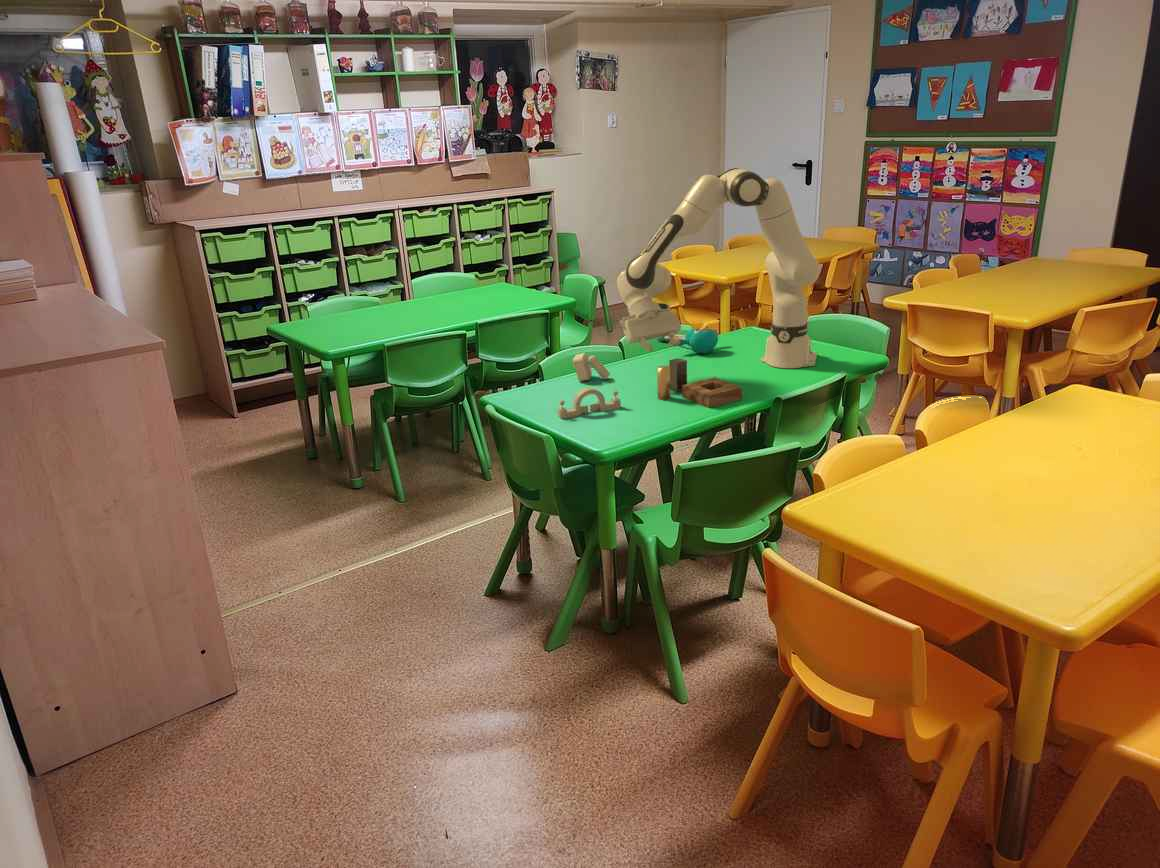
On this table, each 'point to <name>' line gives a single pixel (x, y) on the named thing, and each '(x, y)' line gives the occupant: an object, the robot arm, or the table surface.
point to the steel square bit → (678, 374)
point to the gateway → (600, 405)
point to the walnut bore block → (712, 392)
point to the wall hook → (588, 367)
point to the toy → (697, 339)
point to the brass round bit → (663, 382)
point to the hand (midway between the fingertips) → (662, 347)
